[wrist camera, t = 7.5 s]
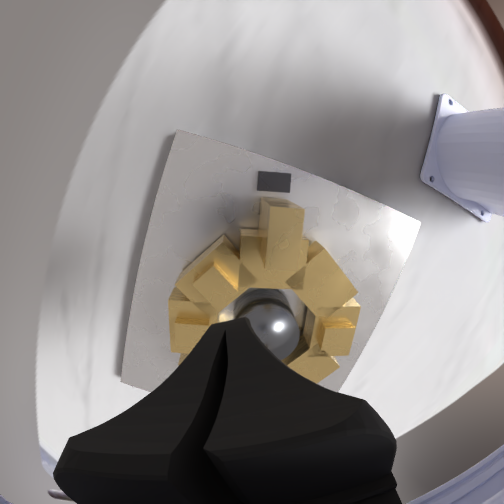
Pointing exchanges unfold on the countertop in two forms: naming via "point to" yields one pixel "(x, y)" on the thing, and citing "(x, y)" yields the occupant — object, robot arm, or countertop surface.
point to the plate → (229, 224)
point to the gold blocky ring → (274, 277)
